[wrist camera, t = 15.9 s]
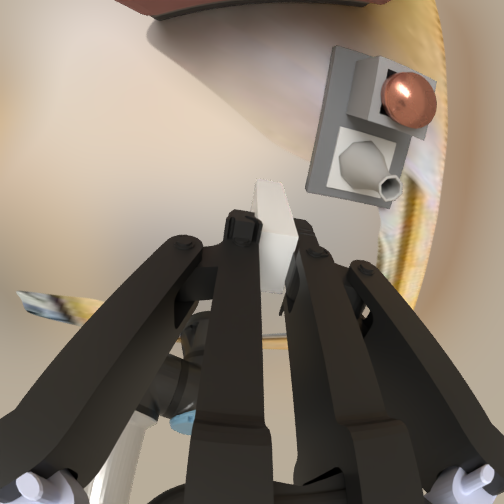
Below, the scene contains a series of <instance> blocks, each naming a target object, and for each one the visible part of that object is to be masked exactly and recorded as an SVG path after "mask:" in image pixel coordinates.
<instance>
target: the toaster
mask: <svg viewBox="0 0 504 504" xmlns="http://www.w3.org/2000/svg"><path fill="white" fill-rule="evenodd" d="M115 1H117V2H119V3H121V4H123V5H125V6H127V7H129V8H131V9H133V10H135V11H137V12H139V13H140V14H144V15H147V16H148V15H149V16H151V17H153V18H154V19H156V20H164V19H167V18H171V17H175V16H179V15H183V14H188V13H193V12H197V11H203V10H208V9H214V8H220V7H227V6H235V5H244V4H256V3H273V2H311V3H328V4H339V5H348V6H356V7H364V6H366V5H367V4H369V3H374V4H380V5H381V4H385V3H387V2H389V1H391V0H115Z"/></svg>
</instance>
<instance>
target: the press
mask: <svg viewBox="0 0 504 504" xmlns="http://www.w3.org/2000/svg"><path fill="white" fill-rule="evenodd" d="M398 72H413V73H416V74H419V75H421V76H422V77H424V78H425V79H426V80H427V81H428V82H429V83H430V85H431V86H432V88H433V90H434V93H435V89H436V83H437V81H435V80H433V79H431V78H429V77H427V76H425V75H423V74H421V73H419V72H417V71H415V70H413V69H410V68H408V67H406V66H404V65H401V64H399V63H397V62H394V61H392V60H390V59H387V58H385V57H382V56H376V57H371V56H369V55H366V54H363V53H360V52H357V51H354V50H351V49H347V48H344V47H341V46H337V45H336V46H334V47H333V48H332V54H331V60H330V66H329V71H328V77H327V83H326V88H325V93H324V99H323V104H322V109H321V114H320V119H319V124H318V129H317V134H316V139H315V144H314V148H313V153H312V158H311V162H310V168H309V172H308V176H307V181H306V185H305V189H306V191H307V192H308V193H314V194H319V195H324V196H330V197H335V198H340V199H345V200H351V201H355V202H360V203H364V204H369V205H374V206H378V207H382V208H387V209H390V206H391V204H392V201H389V202H385V201H384V200H383V199H382V198H381V196H380V195H379V194H378V192H376V191H374V190H367V189H353V188H352V187H351V186H350V185H349V184H348V183H347V181H346V180H345V179H344V178H343V177H342V176H341V172H340V163H339V155H340V154H341V153H343V152H344V151H345V150H346V149H347V148H348V147H349V146H350V145H351V144H352V143H353V142H363V141H372V142H373V143H374V144H375V145H376V147H377V148H378V149H379V150H380V151H381V153H382V154H383V155H384V158H385V162H386V165H387V168H388V171H389V173H390V174H391V175H397V176H398V178H399V179H400V176H401V173H402V169H403V166H404V162H405V159H406V155H407V152H408V148H409V144H410V140H411V137H412V136H414V137H416V138H419V139H421V140H424V139H425V135H426V131H427V127H428V125H426V126H424V127H422V128H417V129H414V128H410V127H407V126H404V125H401V124H398V123H396V122H395V121H393V120H392V119H391V118H390V117H389V116H388V115H387V113H386V112H385V110H384V109H382V108H380V107H381V103H382V102H381V89H382V85H383V83H384V81H385V80H386V79H387V78H388V77H389V76H390V75H392V74H394V73H398Z"/></svg>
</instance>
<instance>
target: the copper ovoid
mask: <svg viewBox="0 0 504 504" xmlns="http://www.w3.org/2000/svg"><path fill="white" fill-rule="evenodd" d="M381 102H382V103H381V107H380V108H382V109H384V110H385V112H386V113H387V115H388V116H389V117H390V118H391V119H392V120H393V121H395V122H396V123H398V124H401V125H404V126H407V127H410V128H414V129H417V128H422V127H424V126H426V125H428V124H429V123H430V122H431V121H432V119H433V117H434V115H435V112H436V107H437V102H436V96H435V93H434V90H433V88H432V86H431V85H430V83H429V82H428V81H427V80H426V79H425V78H424V77H422V76H421V75H419V74H416V73H413V72H398V73H394V74H392V75H390V76H389V77H388V78H387V79H386V80H385V81H384V83H383V85H382V89H381Z"/></svg>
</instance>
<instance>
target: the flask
mask: <svg viewBox="0 0 504 504" xmlns="http://www.w3.org/2000/svg"><path fill="white" fill-rule="evenodd" d="M339 163H340V172H341V176H342V177H343V178H344V179H345V180H346V181H347V183H348V184H349V185H350V186H351V187H352V188H353V189H367V190H374V191H376V192H378V194H379V195H380V196H381V198H382V199H383V200H384V201H385V202H389V201H395V200H396V199H397V198H398V197H399V196H400V195H401V194H402V186H403V183H402V182H401V181H400V179H399V178H398V176H397V175H391V174H390V173H389V171H388V168H387V165H386V162H385V158H384V155H383V154H382V153H381V151H380V150H379V149H378V148H377V147H376V145H375V144H374V143H373V142H372V141H363V142H353V143H352V144H351V145H350V146H349V147H348V148H347V149H346V150H345V151H344V152H343V153H341V154H340V155H339Z"/></svg>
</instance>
